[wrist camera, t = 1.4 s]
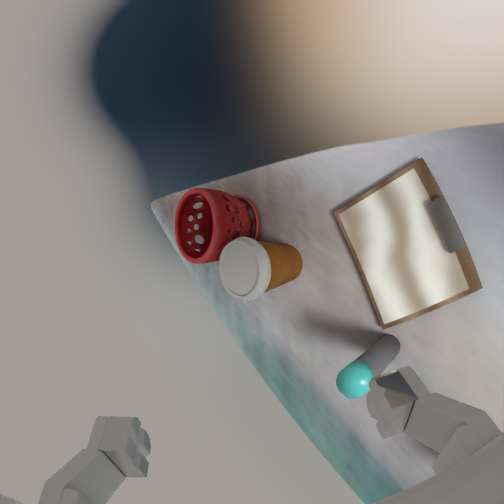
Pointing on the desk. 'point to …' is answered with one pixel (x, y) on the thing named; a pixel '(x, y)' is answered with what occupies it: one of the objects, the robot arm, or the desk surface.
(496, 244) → the desk surface
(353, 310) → the desk surface
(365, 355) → the ball
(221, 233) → the plant pot
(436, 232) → the clipboard
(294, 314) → the desk surface
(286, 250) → the disposable coffee cup
